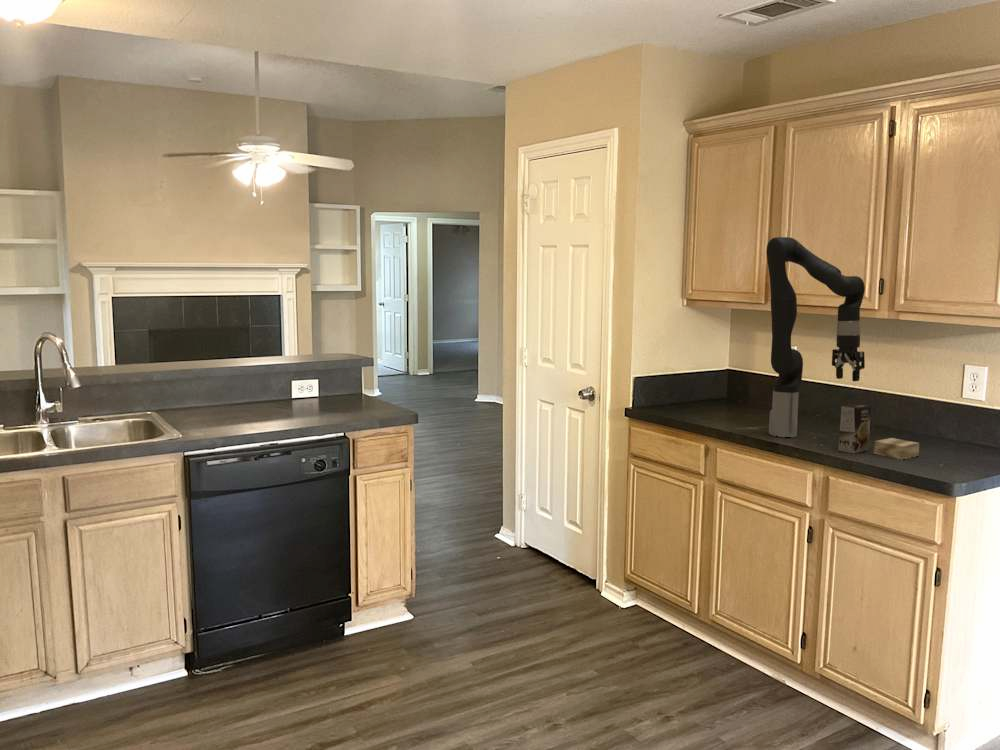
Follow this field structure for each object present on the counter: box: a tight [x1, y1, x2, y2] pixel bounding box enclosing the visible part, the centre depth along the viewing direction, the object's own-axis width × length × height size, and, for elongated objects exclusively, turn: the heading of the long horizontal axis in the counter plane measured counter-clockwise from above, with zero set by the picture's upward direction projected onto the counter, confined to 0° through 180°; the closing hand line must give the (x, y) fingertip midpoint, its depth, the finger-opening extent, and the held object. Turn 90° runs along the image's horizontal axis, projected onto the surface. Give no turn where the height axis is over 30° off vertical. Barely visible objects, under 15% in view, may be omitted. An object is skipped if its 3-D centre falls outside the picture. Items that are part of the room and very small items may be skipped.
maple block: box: [873, 437, 920, 461], centre depth 268 cm, size 10×10×5 cm
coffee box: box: [838, 403, 872, 455], centre depth 274 cm, size 9×6×16 cm
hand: (847, 379), depth 275 cm, fingers open, 8 cm apart
